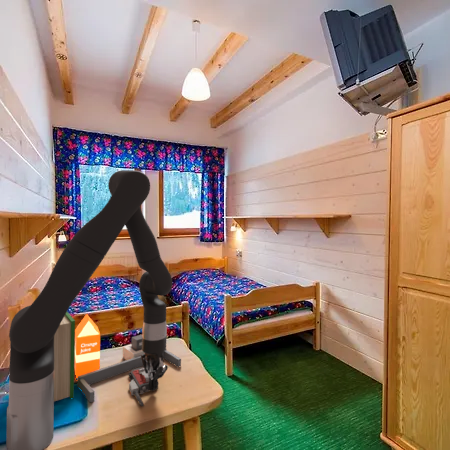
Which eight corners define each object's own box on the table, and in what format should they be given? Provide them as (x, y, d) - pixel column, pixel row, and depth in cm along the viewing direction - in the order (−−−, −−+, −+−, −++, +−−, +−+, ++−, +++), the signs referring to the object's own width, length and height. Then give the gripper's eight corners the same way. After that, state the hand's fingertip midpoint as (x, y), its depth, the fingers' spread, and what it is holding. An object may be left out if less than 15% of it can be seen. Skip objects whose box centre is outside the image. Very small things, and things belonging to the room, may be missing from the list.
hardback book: (73, 398, 91) (75, 320, 90) (45, 407, 86) (47, 325, 86) (61, 374, 105) (62, 306, 104) (37, 381, 100) (38, 310, 99)
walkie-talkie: (122, 378, 103) (138, 411, 86) (122, 366, 103) (139, 396, 86) (147, 372, 108) (167, 401, 91) (147, 360, 108) (167, 387, 91)
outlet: (133, 366, 112) (133, 354, 112) (122, 357, 118) (123, 346, 118) (154, 358, 118) (154, 347, 118) (143, 351, 124) (143, 340, 124)
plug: (136, 361, 115) (136, 340, 115) (131, 357, 118) (131, 337, 118) (145, 357, 118) (146, 337, 118) (140, 354, 121) (140, 334, 121)
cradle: (90, 402, 89) (90, 389, 89) (77, 386, 97) (77, 374, 97) (180, 366, 112) (181, 355, 112) (164, 356, 120) (164, 346, 120)
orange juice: (97, 364, 112) (98, 311, 112) (99, 375, 105) (101, 319, 104) (73, 368, 108) (74, 314, 108) (75, 380, 101) (76, 322, 100)
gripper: (176, 338, 92) (174, 393, 92) (154, 326, 101) (152, 377, 102) (154, 344, 87) (153, 403, 87) (133, 331, 96) (132, 384, 96)
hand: (153, 389), depth 94 cm, fingers closed
